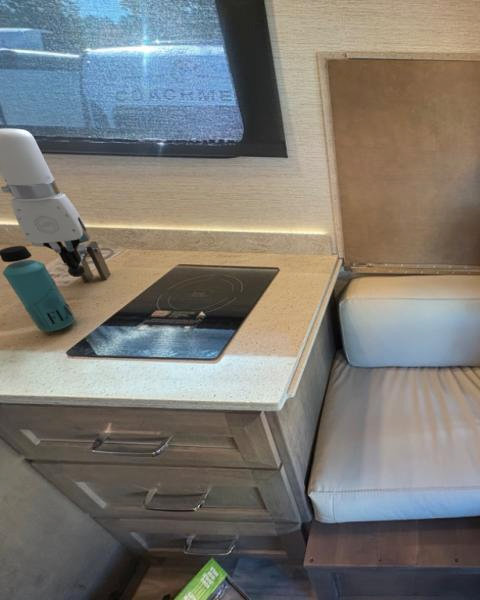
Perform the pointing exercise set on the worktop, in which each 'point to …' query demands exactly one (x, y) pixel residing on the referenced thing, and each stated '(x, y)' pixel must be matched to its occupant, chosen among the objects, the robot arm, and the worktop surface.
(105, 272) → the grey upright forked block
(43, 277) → the beverage bottle
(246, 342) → the worktop surface
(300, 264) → the worktop surface
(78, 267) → the tap lever
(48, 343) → the worktop surface
